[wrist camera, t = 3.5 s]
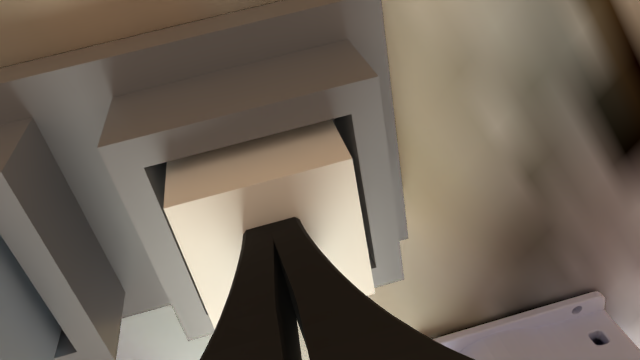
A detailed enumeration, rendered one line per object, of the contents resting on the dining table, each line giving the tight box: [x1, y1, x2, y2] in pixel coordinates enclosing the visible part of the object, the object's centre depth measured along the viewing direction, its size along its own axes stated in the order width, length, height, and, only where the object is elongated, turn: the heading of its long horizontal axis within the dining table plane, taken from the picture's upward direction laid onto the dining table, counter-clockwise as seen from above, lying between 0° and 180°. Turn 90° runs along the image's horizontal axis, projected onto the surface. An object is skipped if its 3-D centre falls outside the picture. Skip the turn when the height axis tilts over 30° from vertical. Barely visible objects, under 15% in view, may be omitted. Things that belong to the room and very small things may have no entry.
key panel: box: [0, 0, 408, 360], centre depth 16 cm, size 18×9×4 cm, turn 100°
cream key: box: [163, 119, 375, 329], centre depth 15 cm, size 4×4×3 cm
